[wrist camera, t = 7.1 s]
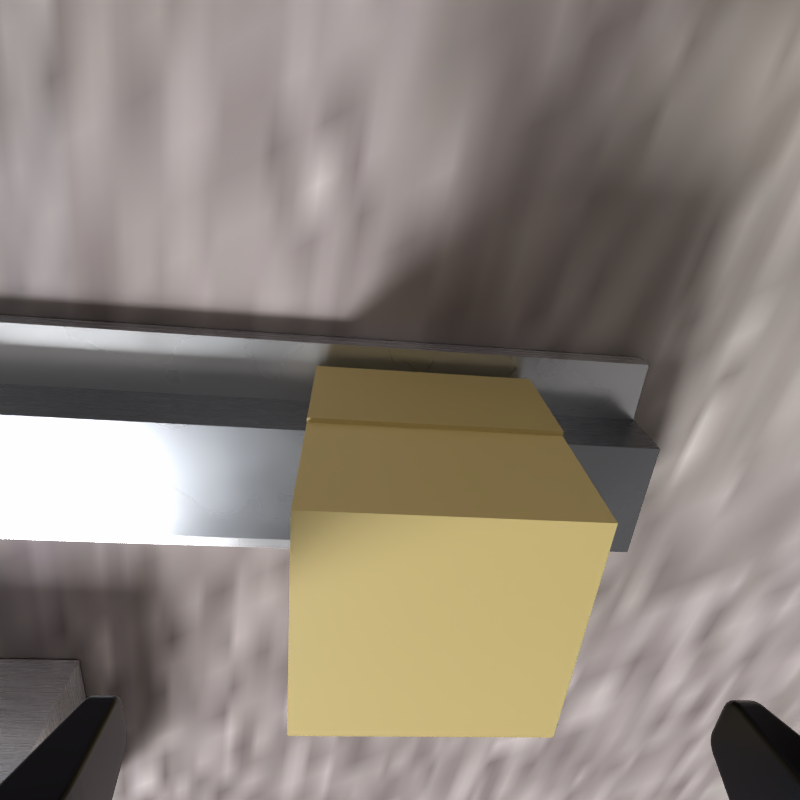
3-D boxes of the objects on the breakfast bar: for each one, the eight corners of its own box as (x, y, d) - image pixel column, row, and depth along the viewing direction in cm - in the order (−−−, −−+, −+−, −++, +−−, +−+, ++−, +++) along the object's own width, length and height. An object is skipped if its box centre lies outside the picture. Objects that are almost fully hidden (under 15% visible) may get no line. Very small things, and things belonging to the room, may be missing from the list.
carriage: (529, 379, 14) (619, 518, 9) (495, 553, 16) (552, 740, 11) (316, 365, 14) (290, 504, 9) (310, 547, 16) (287, 739, 11)
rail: (640, 357, 15) (678, 390, 13) (586, 547, 17) (612, 596, 16) (-327, 293, 13) (-439, 321, 11) (-229, 518, 15) (-307, 570, 14)
